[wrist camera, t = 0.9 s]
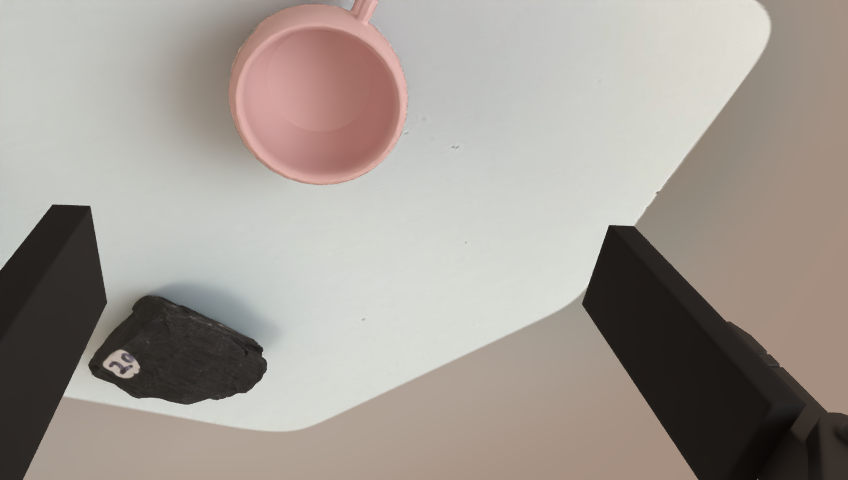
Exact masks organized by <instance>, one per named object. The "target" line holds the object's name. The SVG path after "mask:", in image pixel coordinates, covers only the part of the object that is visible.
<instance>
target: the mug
mask: <svg viewBox="0 0 848 480" xmlns="http://www.w3.org/2000/svg"><path fill="white" fill-rule="evenodd" d="M377 3H378V0H355V2H354V4H353V7H352V9H351V11H348V10H346V9H343V8H341V7H336V6H331V5H325V4H302V5H298V6H294V7H290V8H286V9H283V10H281V11H279V12H277V13H275V14H273V15H271V16H269V17H267V18H266V19H265V20H263V21H262V22H261V23H260V24H259V25H258V26H256V27H255V28H254V29H253V30H252V31H251V32H250V34H249V35H248V37H247V38H246V39H245V41H244V42H243V43H242V45H241V46H240V48H239V51H238V53H237V55H236V58H235V60H234V63H233V65H232V70H231V76H230V82H229V103H230V110H231V113H232V117H233V120H234V123H235V127H236V129H237V131H238V133H239V135H240V137H241V139H242V141H243V142H244V144H245V145H246V147H247V148H248V149H249V150H250V151H251V153H252V154H253V155H254V156H255V157H256V158H257V159H258V160H259V161H260V162H261V163H263V164H264V165H265V166H266V167H268V168H269V169H270V170H272V171H274V172H276V173H278V174H280V175H281V176H283V177H285V178H288V179H291V180H294V181H298V182H301V183H307V184H315V185H327V184H338V183H342V182H346V181H349V180H353V179H355V178H357V177H359V176H361V175H363V174H366V173H368V172H369V171H370V170H372V169H373V168H374V167H376V166H377V165H378V164H380V163H381V162H382V161H383V160H384V159H385V158H386V157H387V155H388V154H389V153H390V152H391V151H392V150H393V148H394V146H395V144H396V143H397V141H398V139H399V137H400V136H401V133H402V130H403V127H404V124H405V120H406V115H407V104H408V93H407V84H406V79H405V75H404V73H403V70H402V67H401V64H400V61H399V58H398V57H397V55H396V53H395V52H394V50H393V48H392V47H391V45H390V43H389V42H388V40H387V39H386V38H385V37H384V36H383V35H382V34H381V33H380V32H379V31H378V29H377V28H376V27H375V26H373V25H372V24H371V23H369V22H368V21H369V19H370V18H371V17H372V15H373V13H374V11H375V8H376V6H377Z"/></svg>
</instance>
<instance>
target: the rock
mask: <svg viewBox="0 0 848 480" xmlns="http://www.w3.org/2000/svg"><path fill="white" fill-rule="evenodd" d="M132 310H133V313H132V314H131V315H130V316H129V317H128V318H127V319H126V320H125V321H124V322H122V323H121V324H120V325H119V326H118V327H117V328H116V329H115V330H114V331H113V332H112V333H111V334H110V335H109V336H108V338H107V339H106V340H105V342H104V343H103V345H102V346H101V347H100V348H99V349H98V350H97V351H96V353H95V354H94V356H93V358H92V359H91V360H90V362H89V364H88V366H89V369H90V370H91V372H92V375H94V376H95V377H97V378H99V379H102V380H105V381H107V382H110V383H113V384H115V385H117V387H119V388H120V389H122V390H124V391H125V392H127V393H128V394H129V395H131V396H132V397H135V398H138V399H140V398H160V399H164V400H167V401H170V402H174V403H180V404H187V405H189V404H193V403H196V402H199V401H203V400H206V399H209V398H210V399H213V400H219V399H223V398H226V397H231V396H233V395H235V394H237V393H246V392H247V391H249V390H250V389H252V388H253V387H254V385H255V384H256V383H258V382H259V381H260V380H261V379H262V377H263V374H264V373H265V372H266V370H267V362H266V360H265V359H264V358H263V357H262V352H263V347H261V346H260V345H259V344H258V343H257V342H256V341H255V340H254V339H251V338H249V337H246V336H243V335H240V334H239V333H237V332H236V331H234V330H232V329H230V328H228V327H226V326H225V325H223V324H221V323H219V322H216V321H214V320H212V319H209V318H207V317H205V316H203V315H201V314H199V313H197V312H195V311H193V310H191V309H189V308H187V307H184V306H179V305H176V304H174V303H172V302H170V301H168V300H166V299H165V298H163V297H153V296H146V297H144V298H142V299H140V300H139V301H137V302H136V303H135V305H134V306H133V308H132Z"/></svg>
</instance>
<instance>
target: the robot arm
mask: <svg viewBox="0 0 848 480" xmlns="http://www.w3.org/2000/svg"><path fill="white" fill-rule="evenodd" d="M106 304H107V299H106V293H105V288H104V282H103V276H102V271H101V265H100V259H99V253H98V248H97V242H96V236H95V230H94V225H93V219H92V213H91V207H90V206H78V205H52V206H51V207H50V209H49V210H48V211H47V212H46V214H45V215H44V216H43V218H42V219H41V220H40V221H39V223H38V224H37V225H36V226H35V228H34V229H33V230H32V231H31V233H30V234H29V235H28V236H27V238H26V239H25V240H24V241H23V243H22V244H21V245H20V247H19V248H18V249H17V250H16V252H15V253H14V254H13V255H12V257H11V258H10V259H9V260H8V262H7V263H6V264H5V265H4V267H3V268H2V269H1V270H0V480H23V478H24V476H25V474H26V472H27V470H28V468H29V465H30V463H31V461H32V459H33V457H34V455H35V453H36V451H37V449H38V446H39V444H40V442H41V440H42V438H43V436H44V434H45V432H46V430H47V428H48V426H49V423H50V421H51V419H52V417H53V415H54V413H55V411H56V409H57V406H58V405H59V402H60V400H61V398H62V396H63V394H64V392H65V390H66V388H67V386H68V384H69V381H70V379H71V377H72V375H73V373H74V371H75V369H76V367H77V365H78V363H79V360H80V358H81V356H82V354H83V352H84V350H85V348H86V346H87V344H88V342H89V339H90V337H91V335H92V333H93V331H94V329H95V327H96V325H97V323H98V321H99V318H100V316H101V314H102V312H103V310H104V308H105V306H106ZM582 305H583V307H584V308H585V309H586V311H587V312H588V314H589V315H590V317H591V318H592V320H593V322H594V323H595V325H596V326H597V328H598V329H599V331H600V332H601V334H602V335H603V337H604V338H605V340H606V341H607V343H608V344H609V345H610V347H611V349H612V350H613V352H614V353H615V355H616V356H617V358H618V359H619V361H620V362H621V364H622V365H623V367H624V368H625V370H626V371H627V372H628V374H629V376H630V377H631V379H632V380H633V382H634V383H635V385H636V386H637V388H638V389H639V391H640V392H641V394H642V395H643V397H644V398H645V400H646V401H647V403H648V404H649V406H650V407H651V409H652V410H653V412H654V413H655V415H656V416H657V418H658V419H659V421H660V423H661V424H662V426H663V427H664V429H665V430H666V432H667V433H668V435H669V436H670V438H671V439H672V441H673V442H674V443H675V445H676V447H677V448H678V450H679V451H680V452H681V454H682V456H683V457H684V459H685V460H686V462H687V463H688V465H689V466H690V468H691V469H692V471H693V472H694V474H695V475H696V477H697V478H698V480H757V479H758V480H848V415H845V414H842V413H828V412H827V411H826V410H825V409H824V408H823V407H822V406H821V405H820V404H819V403H818V402H817V401H816V400H815V399H814V398H813V397H812V396H811V395H810V394H809V393H808V392H807V391H806V390H805V389H804V388H803V387H802V386H801V385H800V384H799V383H798V382H797V381H796V380H795V379H794V378H793V377H792V376H791V375H790V374H789V373H788V372H787V371H786V370H785V369H784V368H783V367H780V366H779V363H778V362H777V361H776V360H775V359H774V358H773V357H772V356H771V355H770V354H767V351H766V350H765V349H764V348H763V347H762V346H761V345H760V344H759V343H758V342H757V341H756V340H755V339H754V338H753V337H752V336H751V335H750V334H748V333H747V332H745V331H744V330H742V329H741V328H739V327H738V326H736V325H734V324H733V323H731V322H726V321H725V320H724V319H723V318H722V317H721V316H720V315H719V314H718V313H717V312H716V311H715V310H714V309H713V308H712V306H710V304H709V303H708V302H707V301H706V300H705V299H704V298H703V297H702V296H701V295H700V294H699V293H698V292H697V291H696V290H695V289H694V288H693V287H692V286H691V285H690V284H689V283H688V282H687V281H686V280H685V279H684V278H683V277H682V276H681V275H680V274H679V272H677V271H676V269H675V268H674V267H673V266H672V265H671V264H670V263H669V262H668V261H667V260H666V259H665V258H664V257H663V256H662V255H661V254H660V253H659V252H658V251H657V250H656V249H655V248H654V247H653V246H652V245H651V244H650V242H649V241H647V239H646V238H645V237H643V235H642V234H641V233H640V232H639V231H638V230H637V229H636V228H635V227H634V226H616V225H609V227H608V230H607V233H606V236H605V239H604V242H603V244H602V247H601V250H600V253H599V256H598V259H597V262H596V265H595V268H594V271H593V274H592V276H591V279H590V282H589V285H588V288H587V291H586V294H585V297H584V300H583V303H582Z"/></svg>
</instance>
